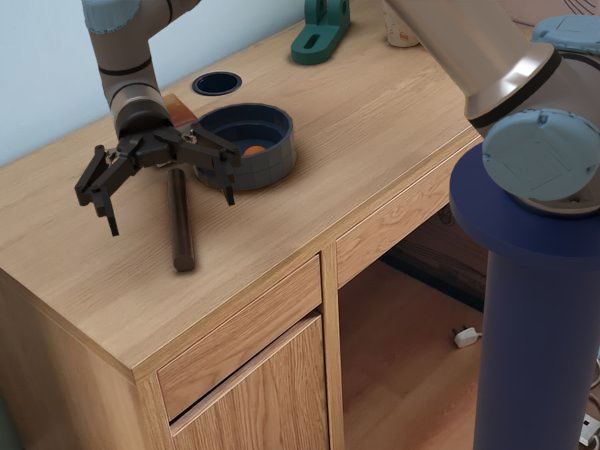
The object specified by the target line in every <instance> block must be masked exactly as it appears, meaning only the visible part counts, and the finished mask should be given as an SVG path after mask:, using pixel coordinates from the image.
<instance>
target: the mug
mask: <svg viewBox="0 0 600 450" xmlns="http://www.w3.org/2000/svg"><path fill="white" fill-rule="evenodd" d="M381 4H382V11H383V17H384V25H385V31H386V37H387V38H386V39H387V42H388V44H390V45H391V46H393V47H397V48H410V47H414V46H416V45H418V44H420V42H419V41H418V40H417V38H416V37H415V36H414V35H413V34H412V33H411V31H410V30H409V29H408V28H407V27H406V26H405V24H404V23H403V22H402V21H401V20H400V19H399V18H398V16H397V15H396V14H395V13H394V12H393V11H392V9H391V8H390V7H389V6H388V5H387V4H386V2H385V1H384V0H381Z"/></svg>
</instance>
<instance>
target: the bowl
mask: <svg viewBox="0 0 600 450" xmlns="http://www.w3.org/2000/svg"><path fill="white" fill-rule="evenodd" d="M195 122H198V123H200V125H201V126H202V127H203V129H205V130H207V131H209V132H211V133H213V134H215V135H217V136H219V137H221V138H223V139H225V140H227V141H229V142H231V143H233V144H235V145H236V146H238V147H240V153H241V159H242V166H241V167H238V168H235V167H232V168H233V170H234V173H235V179H236V182H235V183H234V184H231V185H232V189H233V192H234V191H235V192H241V191H243V192H244V191H250V190H257V189H260V188H263V187H266V186H269V185H272V184H274V183H275V182H277V181H279V180H281V179H283V178H284V177H286V176H287V175H288V173H290V172H291V171H292V170H293V169H294V167H295V164H296V162H297V159H298V156H297V154H298V153H297V145H296V136H295V129H294V121H293V118H292V116H291V115H289V113H288V112H287V111H286V110H284V109H281V108H280V107H278V106H276V105H272V104H267V103H263V102H242V103H241V102H240V103H233V104H232V103H231V104H228V105H224V106H221V107H217V108H215V109H212V110H210V111H208V112H206V113H204V114H202V115H201V116H199V118H198V119H197V120H196V121H195ZM190 129H191V127H190ZM190 129H189V130H190ZM189 143H190V142H189ZM253 146H260V147H263V148H264V149H266V150H264V151H261V152H257V153H254V154H251V155H244V153H245V151H246V150H247V149H249V148H250V147H253ZM192 169H193V172H194V174H195V176H196V177H197V179H198V180H199V181H201V182H202V183H204V184H205V185H206V186H208V187H211V188H214V189H218V190H221V187H220V185H219V183H218V181H217V178H216V174H215V171H212V170H208V169H205V168H201V167H198V166H194V165H192Z"/></svg>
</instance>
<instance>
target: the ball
mask: <svg viewBox="0 0 600 450" xmlns="http://www.w3.org/2000/svg"><path fill="white" fill-rule="evenodd" d="M264 150H266V149H264V148H263V147H260V146H253V147H250V148H249V149H247V150H246V151H245V153H244V155H251V154H254V153H257V152H261V151H264Z"/></svg>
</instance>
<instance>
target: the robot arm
mask: <svg viewBox="0 0 600 450" xmlns="http://www.w3.org/2000/svg"><path fill="white" fill-rule="evenodd" d="M80 1H81V5H82V6H81V7H82V12H83V13H82V14H83V17H84V24H85V27H86V29H87V32H88V35H89V38H90V42H91V46H92V51H93V54H94V56H95V61H96V64H97V68H98V72H99V77H100V81H101V87H102V91H103V95H104V98H105V99H106V103H107V105H108V108H109V113H110V117H111V120H112V124H113V128H114V130H115V135H116V139H117V142H118V143H117V145H116V147H111V148H105V145H104V144H98V145H96V146H94V155H93V157H92V158H91V160H90V161H89V163H88V165H87V166H86V168H85V170H83V173H82V174H81V176H80V177H79V179H78V180H77V182H76V184H75V186H73V189H74V192H75V195H76V198H77V201H78V205H79V206H80V207H86V206H88V205H90V203H91V204H93V207H94V211H95V213H96V216H97V217H98V218H99V219H100V218H104V217H106V219H107V222H108V226H109V229H110V232H111V236H112V238H114V237H117V236H120V232H119V227H118V223H117V220H116V216H115V212H114V207H113V203H112V199H111V197H112V196H114V194H115V193H116V192H117V191H118V190H119V189H120V188H121V187H122V185H124V183H125V182H126V181H127V180H128V179H129V178H130V177H135V176H136V175H137V174H138V173H139V172H140V171H141V170H142V169H143V168H144V169H147V168H152V167H154V166H157V165H156V164H164V163H168V161H170V162H171V163H174V164H176V165H177V164H178V165H183V164H188V165H191V166H193V165H194V166H198V167H201V168H205V169H208V170H212V171H215V174H216V178H217V181H218V183H219V185H220V187H221V189H220V190H221V191H222V194H223V196H224V198H225V200H226V201H225V202H226V203H227V205H228V207H232V206H235V205H236V201H235V195H234V191H233V189H232V185H231V184H234V183H235V182H236V179H235V173H234V170H233V168H232V167H235V168H238V167H241V166H242V159H241V153H240V147H238V146H236V145H235V144H233V143H231V142H229V141H227V140H225V139H223V138H221V137H219V136H217V135H215V134H213V133H211V132H209V131H207V130H205V129H203V127H202V126H201V125H200V123H198V122H194V123H192V124H191V129H190V130H187V131H183V132H180V131H179V130H177V129H175V127H174V125H173V122H172V120H171V117H170V115H169V112H168V110H167V107H166V105H165V103H164V101H163V98H162V97H163V96H162V94H161V93H162V92H161V91H160V88H159V84H158V81H157V76H156V72H155V68H154V67H155V66H154V63H153V57H152V52H151V48H150V43H149V40H151V38H153V37H154V36H155V35H157V34H159V33H160V32H161V31H162V30H164V29H166V28H167V27H168V26H169V25H170V24H172V23H174V21H176V20H178V19H179V18H181V17H182V16H183V15H185V14H186V13H188V12H191V11H192V10H194V9H195V8H196V7H198V5H199V4H200V3H201V2H202V1H203V0H80ZM384 1H385V2H386V4H387V5H388V6H389V7H390V8H391V9H392V11H393V12H394V13H395V14H396V15H397V16H398V18H399V19H400V20H401V21H402V22H403V23H404V24H405V26H406V27H407V28H408V29H409V30H410V31H411V33H412V34H413V35H414V36H415V37H416V38H417V40H418V41H419V44H420V45H421V46H422V47H423V48H424V49H425V50H426V51H427V53H428V54H429V55H430V56H431V57H432V58H433V60H434V61H435V62H436V63H437V65H438V66H439V67H440V68H441V69H442V70H443V71H444V72H445V74H446V75H447V76H448V77H449V78H450V79H451V80H452V82H453V83H454V84H455V85H456V86H457V88H458V89H460V91H461V92H462V93H463V94H464V99H465V101H464V109H463V115H464V117H465V119H466V120H467V121H468V122H469V123H470V125H471V126H472V127H473V128H474V130H475V131H476V132H477V133H478V134H479V135H480V137H481V138H482V139H483V141H482V142H483V144H482V151H483V163H484V166H485V169H486V171H487V172H488V174H489V176H490V177H491V178H492V179H493V181H494V182H495V183H496V184H498V185H499V186H500V187H501V188H503V189H504V190H505V192H506V194H507V195H508V197H509V198H510V199H511V200H512V201H513V202H514V203H515V204H517V205H518V206H520V207H521V208H523V209H525V210H527V211H529V212H531V213H534V214H536V215H539V216H543V217H547V218H552V219H559V220H583V219H589V218H594V217H597V216H600V15H592V14H562V15H561V14H560V15H554V16H550V17H547V18H544V19H542V20H540V21H539V22H537V23H536V24H535V25H534V27H533V30H532V33H531V37H530V39H528V38H527V36H526V35H525V34H524V33H523V32H522V31H521V29H520V28H519V27H518V25H516V23H515V22H514V21H513V19H512V18H510V16H509V15H508V13H507V12H506V11H505V10H504V9H503V7H502V6H501V5H500V4H499V3H498V2H497V0H384ZM186 141H188V142H186ZM189 142H190V143H189ZM115 159H116V160H115Z"/></svg>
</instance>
